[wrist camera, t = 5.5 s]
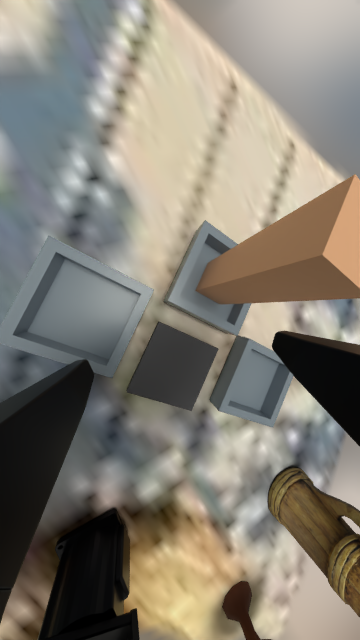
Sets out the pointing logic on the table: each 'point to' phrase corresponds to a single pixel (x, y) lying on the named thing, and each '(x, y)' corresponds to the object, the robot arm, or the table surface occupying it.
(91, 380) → the robot arm
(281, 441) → the table surface
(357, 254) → the orange block
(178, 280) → the tray
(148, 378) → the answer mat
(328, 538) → the wooden mug
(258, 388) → the empty tray
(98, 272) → the empty tray
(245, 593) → the ice cream bowl
